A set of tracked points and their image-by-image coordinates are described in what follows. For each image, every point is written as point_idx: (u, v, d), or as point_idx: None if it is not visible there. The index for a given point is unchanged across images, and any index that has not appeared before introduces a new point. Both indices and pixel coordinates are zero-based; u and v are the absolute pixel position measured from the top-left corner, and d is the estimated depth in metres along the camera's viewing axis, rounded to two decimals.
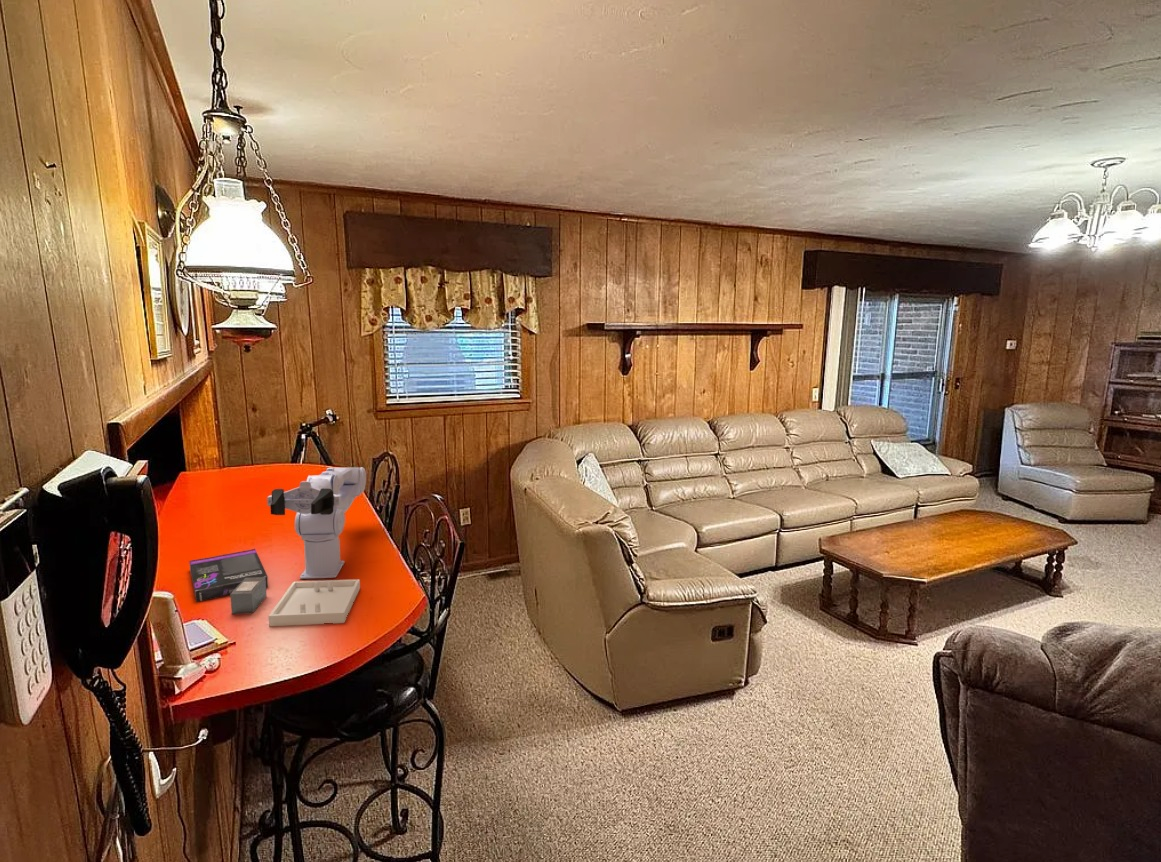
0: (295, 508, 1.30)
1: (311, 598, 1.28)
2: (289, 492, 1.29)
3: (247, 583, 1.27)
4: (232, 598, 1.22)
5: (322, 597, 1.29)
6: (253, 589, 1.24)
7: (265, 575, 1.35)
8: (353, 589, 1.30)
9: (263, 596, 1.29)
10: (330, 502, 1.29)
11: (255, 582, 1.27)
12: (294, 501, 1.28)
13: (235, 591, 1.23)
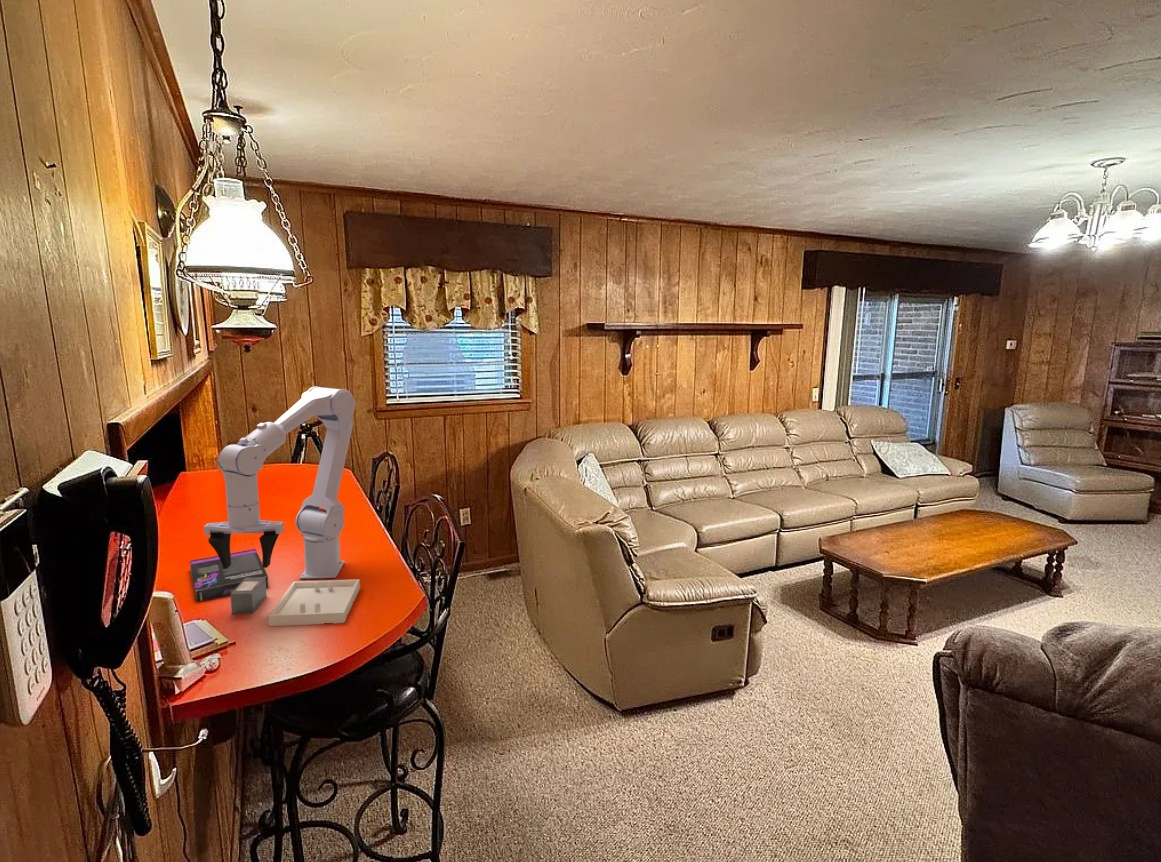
0: None
1: (311, 598, 1.28)
2: None
3: (247, 583, 1.27)
4: (232, 598, 1.22)
5: (322, 597, 1.29)
6: (253, 589, 1.24)
7: (265, 575, 1.35)
8: (353, 589, 1.30)
9: (263, 596, 1.29)
10: None
11: (255, 582, 1.27)
12: None
13: (235, 591, 1.23)
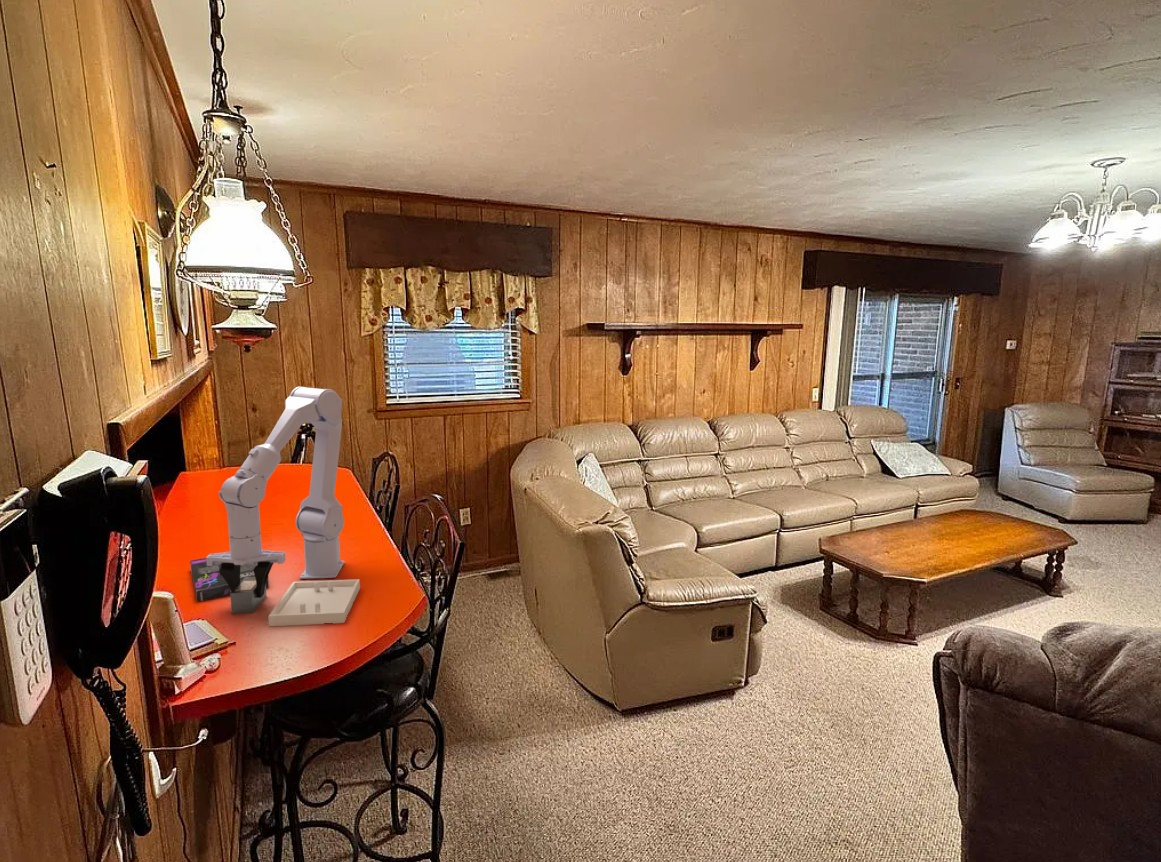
0: None
1: (311, 598, 1.28)
2: None
3: (247, 582, 1.27)
4: (232, 597, 1.22)
5: (322, 597, 1.29)
6: (253, 588, 1.24)
7: None
8: (353, 589, 1.30)
9: (263, 595, 1.29)
10: None
11: (255, 581, 1.27)
12: None
13: (235, 591, 1.23)
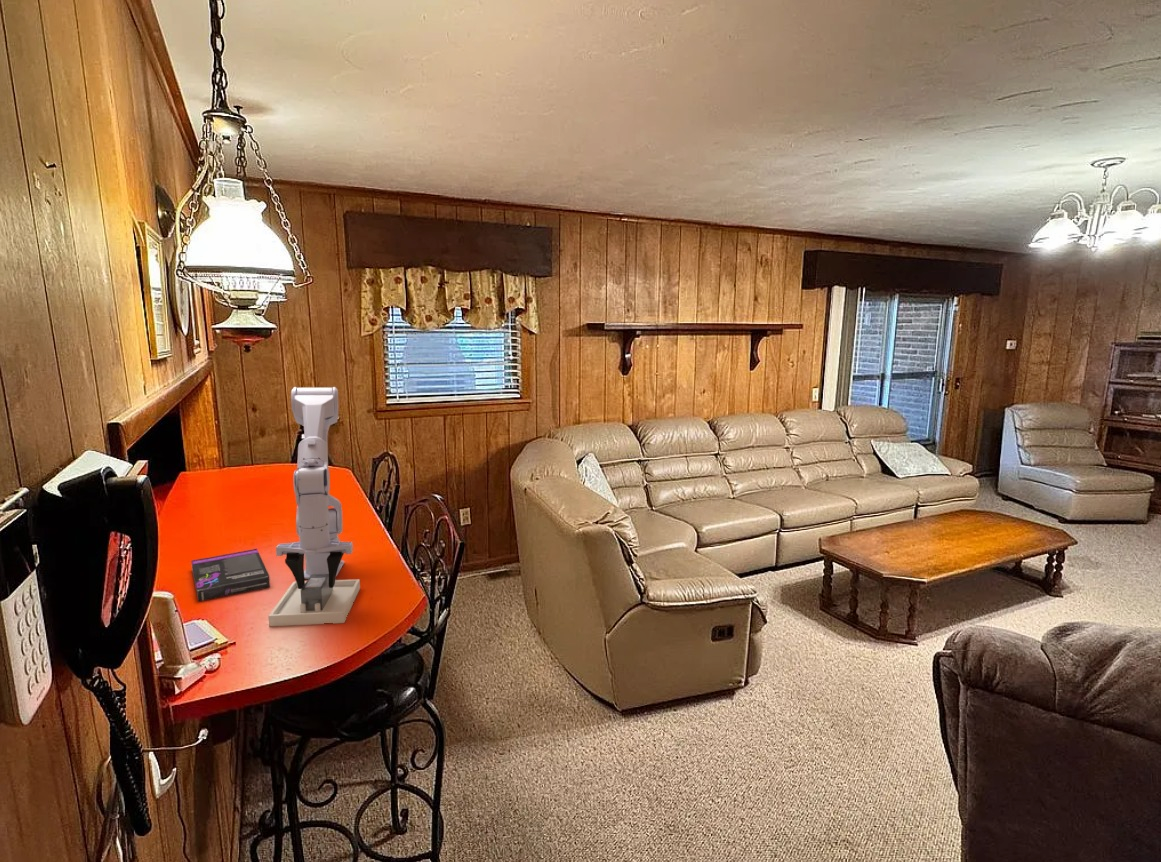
0: None
1: None
2: None
3: (315, 579, 1.27)
4: (302, 594, 1.22)
5: None
6: (322, 585, 1.24)
7: (267, 575, 1.35)
8: (353, 589, 1.30)
9: (329, 592, 1.29)
10: None
11: (322, 578, 1.27)
12: None
13: (304, 588, 1.23)
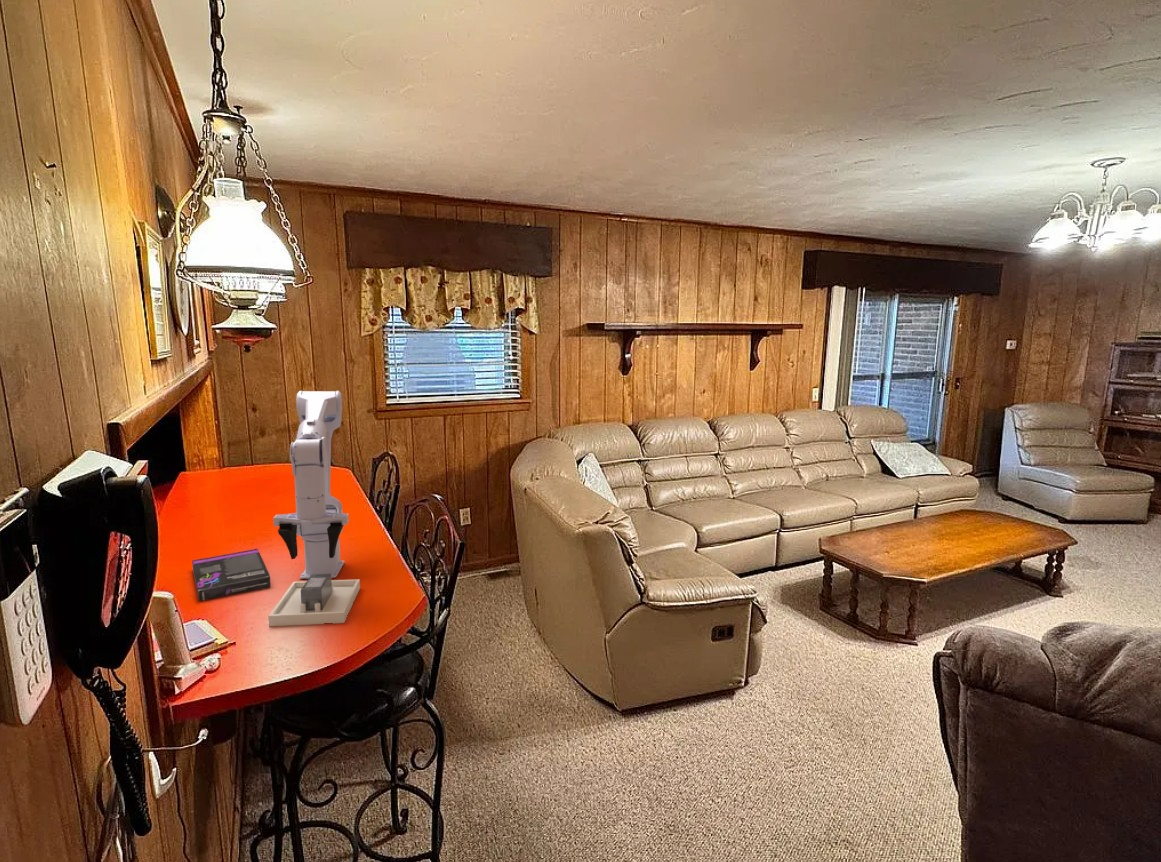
0: None
1: None
2: None
3: (315, 579, 1.27)
4: (302, 594, 1.22)
5: None
6: (322, 585, 1.24)
7: (268, 575, 1.35)
8: (353, 589, 1.30)
9: (329, 592, 1.29)
10: None
11: (322, 578, 1.27)
12: None
13: (304, 588, 1.23)
